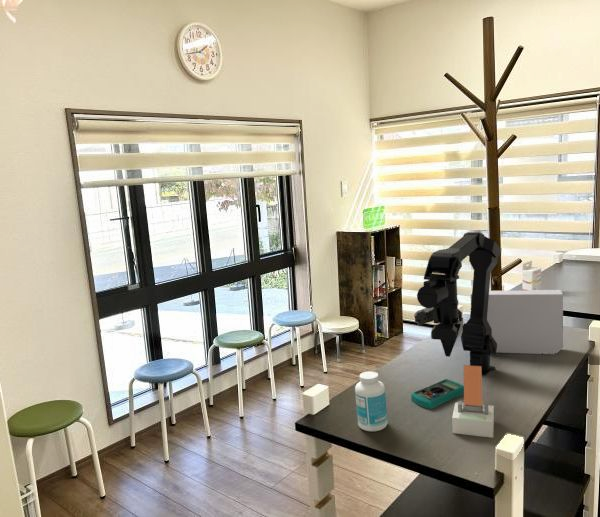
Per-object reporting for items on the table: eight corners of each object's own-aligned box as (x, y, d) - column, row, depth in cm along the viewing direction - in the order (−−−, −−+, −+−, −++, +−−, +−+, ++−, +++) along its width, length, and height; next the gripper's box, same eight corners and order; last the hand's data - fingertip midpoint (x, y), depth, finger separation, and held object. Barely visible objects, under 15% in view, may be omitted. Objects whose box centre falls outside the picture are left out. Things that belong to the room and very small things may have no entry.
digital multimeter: (409, 402, 138) (408, 392, 138) (446, 386, 146) (446, 376, 145) (429, 412, 132) (428, 401, 131) (467, 394, 139) (467, 384, 139)
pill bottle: (389, 419, 129) (386, 369, 127) (385, 434, 122) (381, 381, 120) (361, 417, 131) (357, 368, 129) (355, 431, 125) (351, 380, 122)
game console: (472, 345, 174) (470, 290, 170) (560, 348, 164) (560, 289, 161) (472, 352, 168) (470, 294, 165) (563, 355, 159) (562, 294, 156)
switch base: (455, 417, 127) (455, 394, 126) (494, 420, 124) (493, 398, 122) (452, 433, 120) (451, 409, 119) (493, 437, 116) (492, 413, 115)
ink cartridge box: (533, 296, 225) (532, 264, 222) (522, 295, 229) (521, 263, 226) (541, 292, 230) (541, 261, 228) (531, 291, 234) (530, 260, 232)
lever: (463, 409, 122) (463, 364, 123) (483, 411, 121) (482, 366, 121) (463, 411, 121) (462, 365, 122) (482, 413, 119) (482, 367, 120)
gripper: (421, 289, 146) (423, 340, 149) (409, 307, 129) (412, 365, 132) (461, 289, 142) (463, 342, 144) (454, 308, 125) (457, 367, 127)
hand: (448, 353), depth 137 cm, fingers open, 3 cm apart
